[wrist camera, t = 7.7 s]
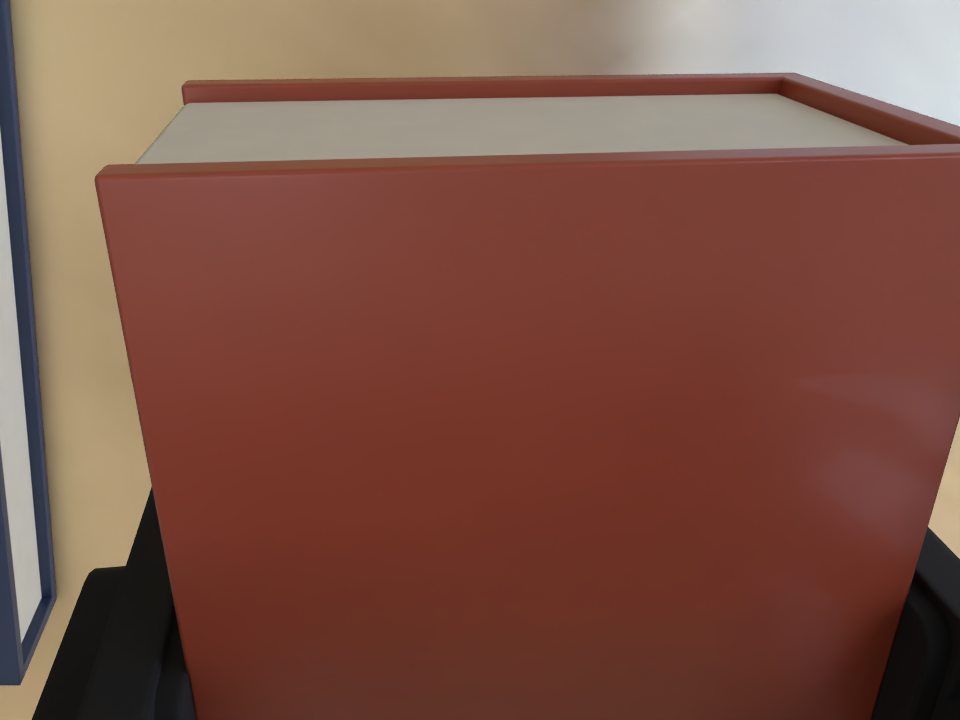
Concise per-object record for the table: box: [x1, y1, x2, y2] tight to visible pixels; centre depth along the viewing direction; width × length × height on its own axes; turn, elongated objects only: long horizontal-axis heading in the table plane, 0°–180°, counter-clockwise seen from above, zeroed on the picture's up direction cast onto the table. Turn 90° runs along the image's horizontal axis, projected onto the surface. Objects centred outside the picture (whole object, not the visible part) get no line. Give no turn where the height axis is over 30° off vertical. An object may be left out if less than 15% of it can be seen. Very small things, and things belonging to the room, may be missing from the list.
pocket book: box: [95, 73, 960, 720], centre depth 10 cm, size 6×11×4 cm, turn 179°
